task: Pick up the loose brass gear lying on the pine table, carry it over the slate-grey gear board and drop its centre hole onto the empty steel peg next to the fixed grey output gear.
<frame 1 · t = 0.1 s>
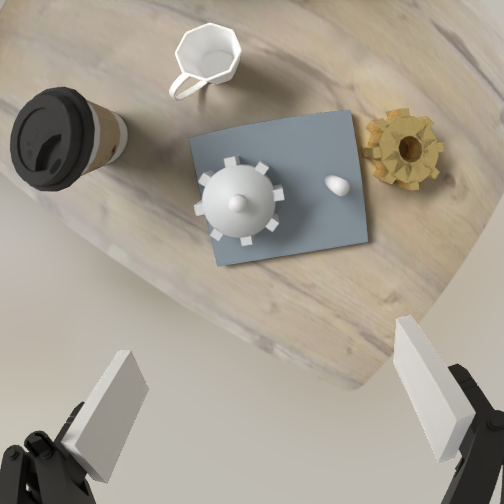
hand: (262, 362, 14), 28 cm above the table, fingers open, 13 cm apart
cup: (211, 76, 35), on the table
gear board: (281, 187, 39), on the table
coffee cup: (106, 137, 38), on the table
brass gear: (396, 148, 36), on the table
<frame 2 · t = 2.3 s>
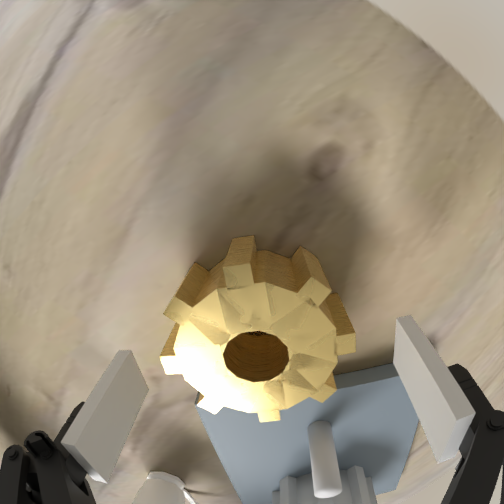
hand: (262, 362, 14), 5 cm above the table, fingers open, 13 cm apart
cup: (176, 484, 27), on the table
gear board: (319, 453, 24), on the table
brass gear: (258, 313, 19), on the table
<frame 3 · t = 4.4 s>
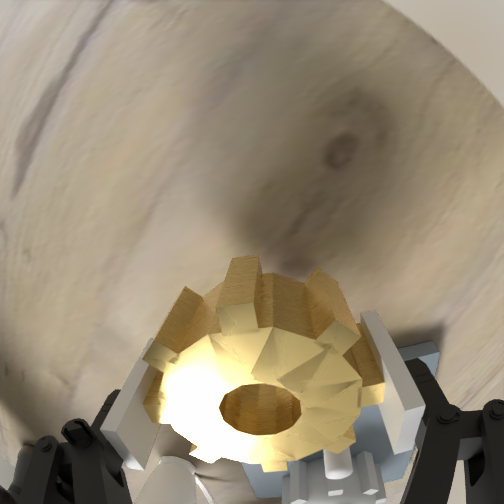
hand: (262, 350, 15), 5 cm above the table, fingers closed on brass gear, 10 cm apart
cup: (187, 469, 29), on the table
gear board: (330, 438, 25), on the table
brass gear: (263, 347, 15), point 5 cm above the table, touching gripper
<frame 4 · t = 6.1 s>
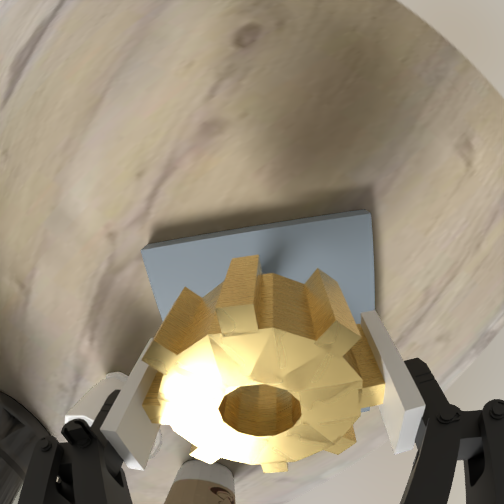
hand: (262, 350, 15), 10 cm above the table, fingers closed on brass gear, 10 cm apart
cup: (134, 393, 30), on the table
gear board: (273, 339, 26), on the table
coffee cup: (207, 471, 34), on the table
brass gear: (263, 347, 15), point 10 cm above the table, touching gripper
when the fingers open (3 cm above the table, at t = 7.8 s): brass gear drops 1 cm, resting on gear board.
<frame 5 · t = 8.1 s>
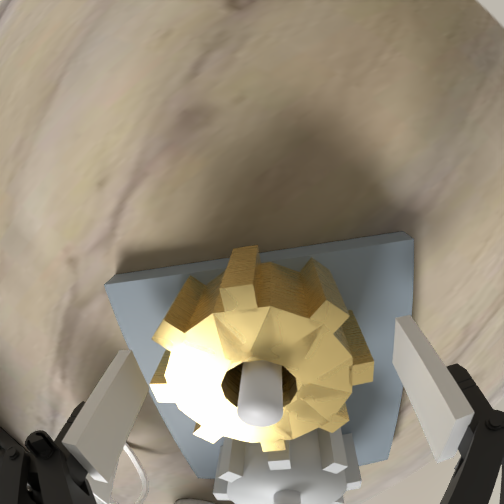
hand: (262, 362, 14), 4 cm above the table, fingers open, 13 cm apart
cup: (116, 435, 24), on the table
gear board: (277, 390, 20), on the table
brass gear: (262, 332, 17), point 1 cm above the table, touching gear board
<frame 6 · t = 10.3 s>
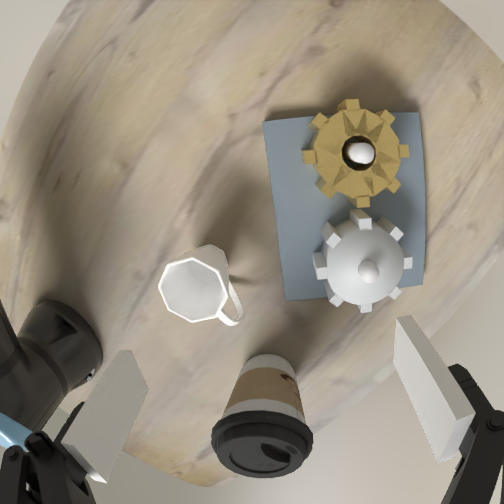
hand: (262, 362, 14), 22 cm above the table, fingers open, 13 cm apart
cup: (218, 270, 37), on the table
gear board: (351, 205, 33), on the table
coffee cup: (268, 371, 42), on the table
brass gear: (348, 152, 30), point 1 cm above the table, touching gear board
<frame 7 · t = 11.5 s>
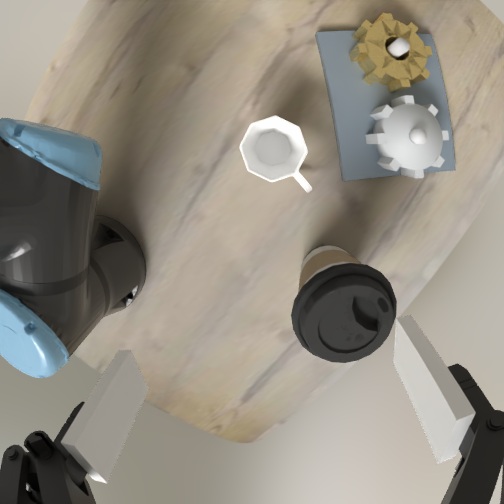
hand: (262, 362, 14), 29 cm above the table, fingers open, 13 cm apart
cup: (280, 157, 39), on the table
gear board: (390, 101, 35), on the table
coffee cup: (326, 268, 43), on the table
brass gear: (384, 57, 32), point 1 cm above the table, touching gear board
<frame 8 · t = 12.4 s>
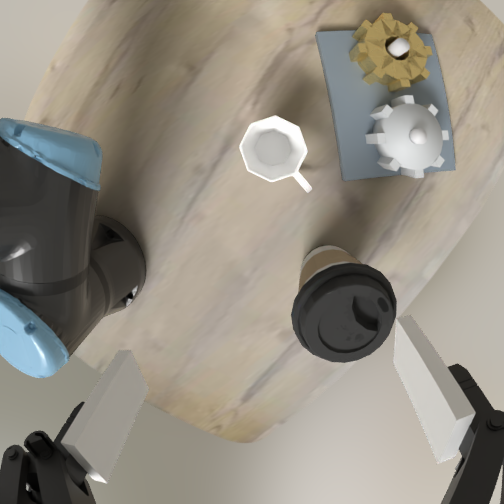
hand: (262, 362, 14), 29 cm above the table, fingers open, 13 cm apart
cup: (280, 157, 39), on the table
gear board: (390, 100, 35), on the table
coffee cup: (326, 268, 43), on the table
brass gear: (384, 57, 32), point 1 cm above the table, touching gear board
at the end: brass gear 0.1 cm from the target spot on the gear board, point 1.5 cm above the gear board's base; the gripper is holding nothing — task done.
